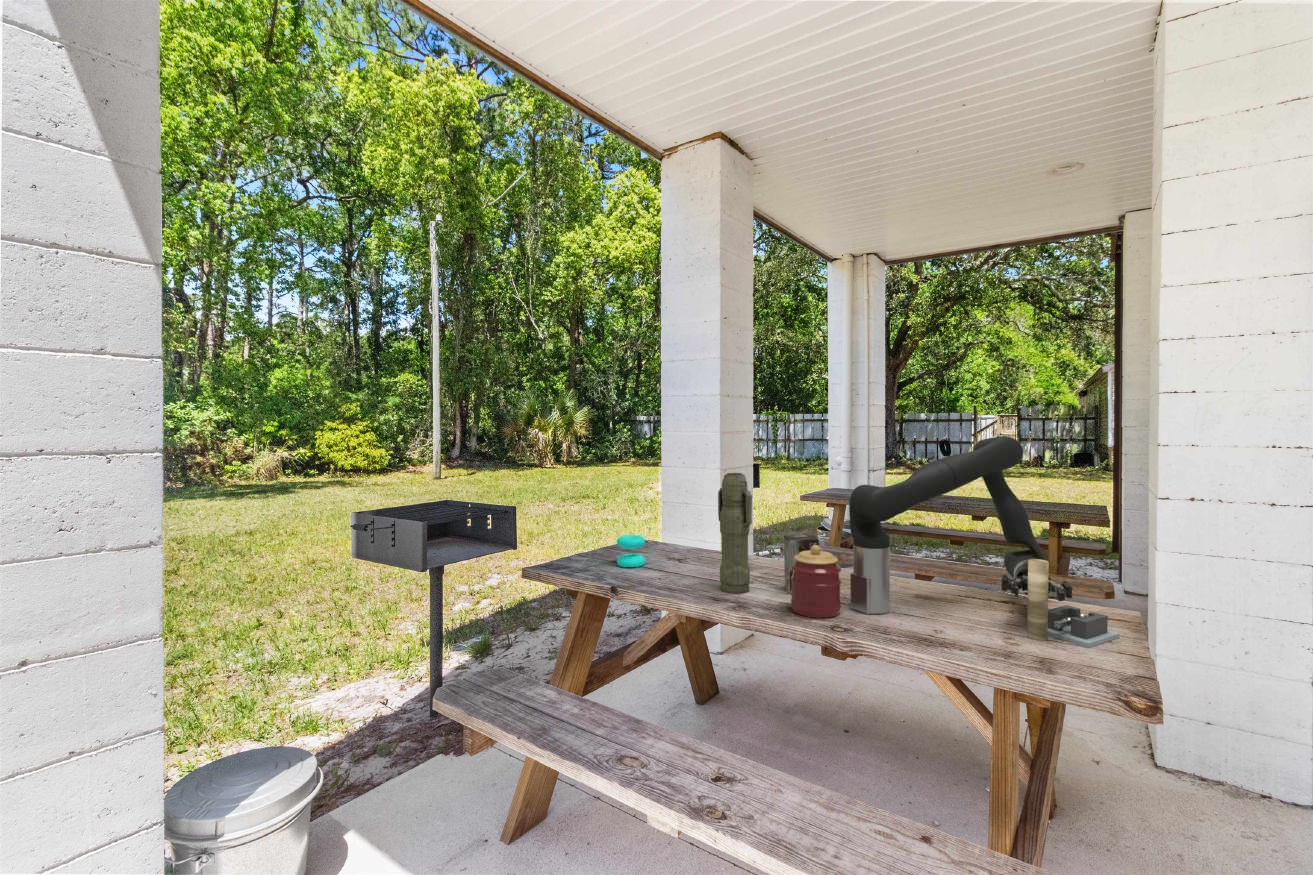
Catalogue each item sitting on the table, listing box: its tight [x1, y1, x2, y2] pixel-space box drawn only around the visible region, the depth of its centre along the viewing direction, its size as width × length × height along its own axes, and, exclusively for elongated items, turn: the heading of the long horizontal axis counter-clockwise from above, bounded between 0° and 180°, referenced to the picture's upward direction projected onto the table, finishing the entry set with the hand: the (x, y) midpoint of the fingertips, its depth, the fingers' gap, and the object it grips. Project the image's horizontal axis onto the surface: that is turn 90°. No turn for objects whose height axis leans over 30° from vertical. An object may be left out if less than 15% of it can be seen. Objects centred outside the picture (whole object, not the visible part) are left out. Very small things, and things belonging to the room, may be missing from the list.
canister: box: [790, 545, 842, 619], centre depth 158 cm, size 13×13×18 cm
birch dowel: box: [1026, 559, 1050, 642], centre depth 137 cm, size 4×4×18 cm
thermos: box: [717, 472, 753, 595], centre depth 177 cm, size 9×12×35 cm
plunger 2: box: [1077, 610, 1097, 619], centre depth 142 cm, size 6×2×2 cm, turn 117°
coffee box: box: [783, 534, 820, 594], centre depth 176 cm, size 9×6×16 cm
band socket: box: [1047, 604, 1120, 649], centre depth 140 cm, size 13×12×5 cm
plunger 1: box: [1054, 617, 1071, 628], centre depth 137 cm, size 6×2×2 cm, turn 117°
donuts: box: [616, 534, 646, 568], centre depth 208 cm, size 10×10×10 cm
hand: (1038, 594), depth 136 cm, fingers open, 8 cm apart
